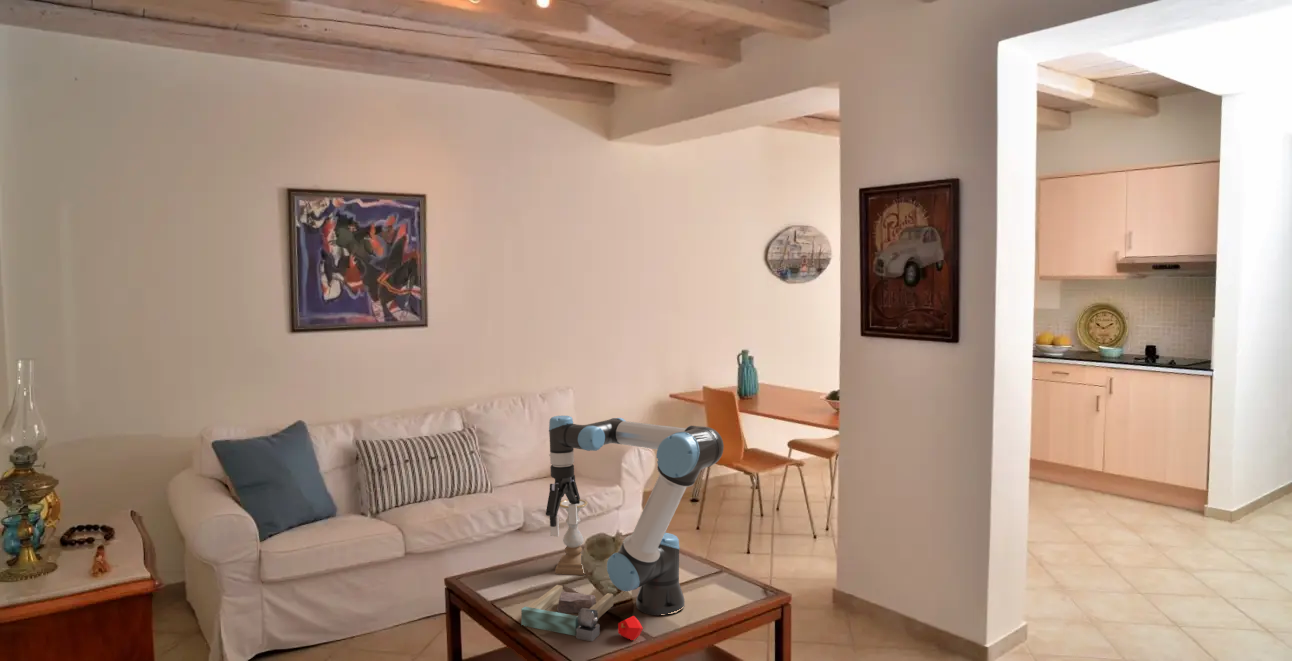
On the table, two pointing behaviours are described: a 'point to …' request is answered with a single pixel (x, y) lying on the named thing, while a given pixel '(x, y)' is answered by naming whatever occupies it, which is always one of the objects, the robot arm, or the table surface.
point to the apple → (630, 628)
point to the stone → (574, 602)
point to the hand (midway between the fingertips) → (564, 529)
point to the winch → (587, 625)
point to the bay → (557, 621)
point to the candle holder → (571, 544)
